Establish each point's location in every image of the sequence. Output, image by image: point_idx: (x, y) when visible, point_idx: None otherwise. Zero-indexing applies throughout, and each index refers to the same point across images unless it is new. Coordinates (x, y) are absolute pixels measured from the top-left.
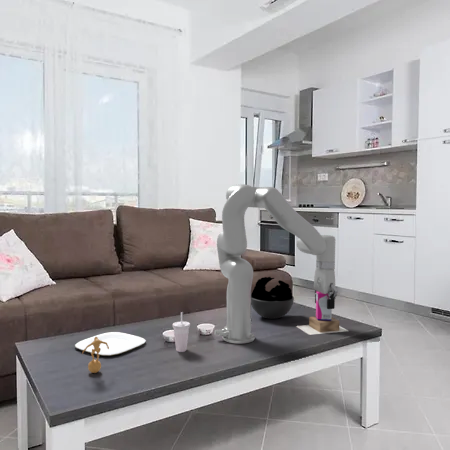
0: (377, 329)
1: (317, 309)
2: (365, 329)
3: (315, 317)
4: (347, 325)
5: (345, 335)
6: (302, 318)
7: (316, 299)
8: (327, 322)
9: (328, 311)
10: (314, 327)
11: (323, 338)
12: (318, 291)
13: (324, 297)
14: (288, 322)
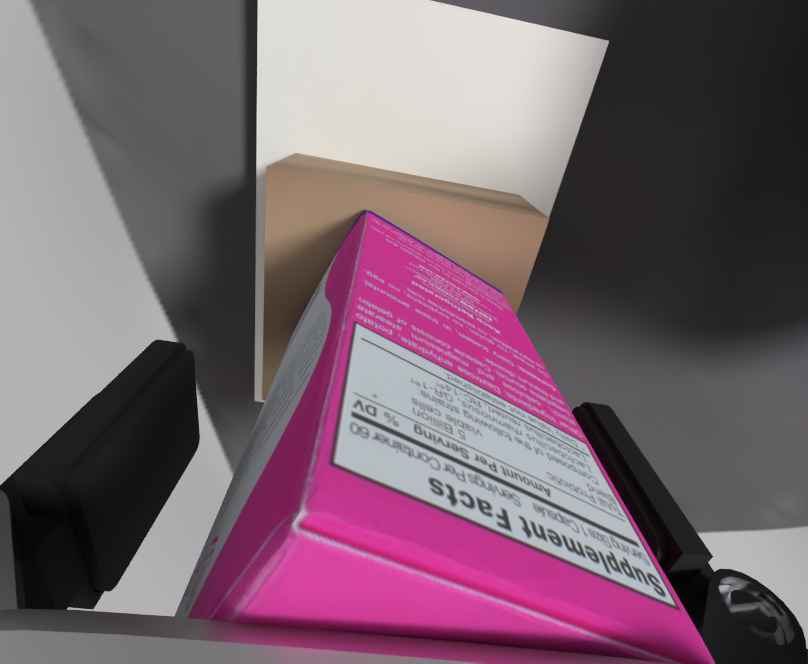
0: None
1: (373, 259)
2: None
3: (483, 269)
4: None
5: (209, 334)
6: (756, 326)
7: (532, 419)
8: (265, 269)
9: (279, 372)
10: (408, 176)
11: (175, 95)
12: (448, 655)
13: (228, 519)
14: (795, 109)
